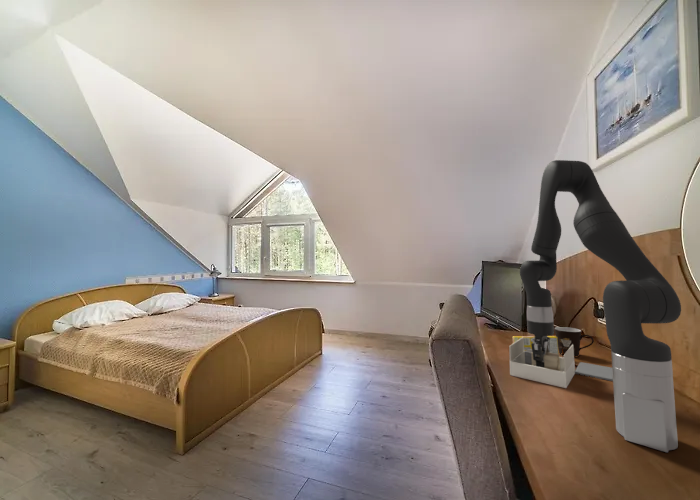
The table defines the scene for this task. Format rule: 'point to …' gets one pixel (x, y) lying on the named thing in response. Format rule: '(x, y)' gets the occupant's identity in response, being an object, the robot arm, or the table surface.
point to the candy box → (529, 340)
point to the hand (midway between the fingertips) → (542, 370)
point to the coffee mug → (569, 339)
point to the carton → (539, 373)
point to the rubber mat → (595, 371)
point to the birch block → (550, 359)
